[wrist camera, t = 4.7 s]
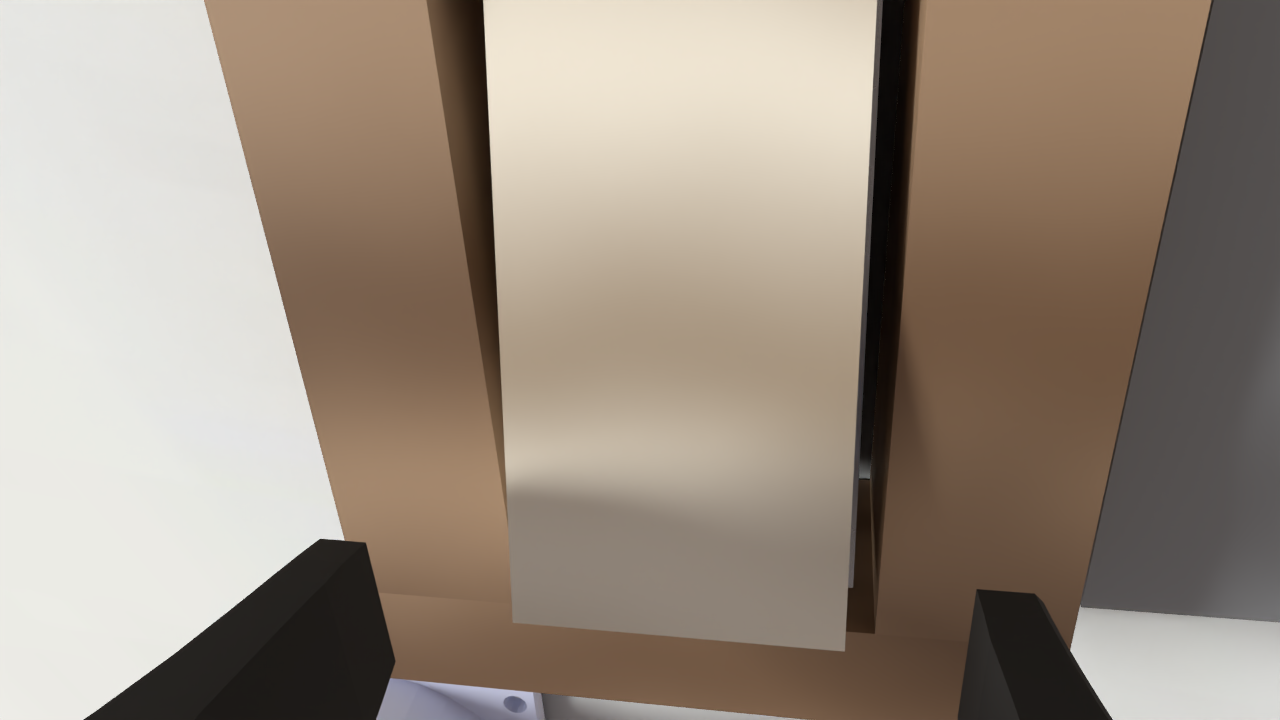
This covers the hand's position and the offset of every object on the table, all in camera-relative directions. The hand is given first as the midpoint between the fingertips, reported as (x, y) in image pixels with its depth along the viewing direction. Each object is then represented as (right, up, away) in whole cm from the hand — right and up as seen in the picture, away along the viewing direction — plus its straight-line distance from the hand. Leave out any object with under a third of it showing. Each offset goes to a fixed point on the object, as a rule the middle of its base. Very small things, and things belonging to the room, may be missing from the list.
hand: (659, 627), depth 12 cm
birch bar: (+1, +4, +2) cm, 5 cm away
